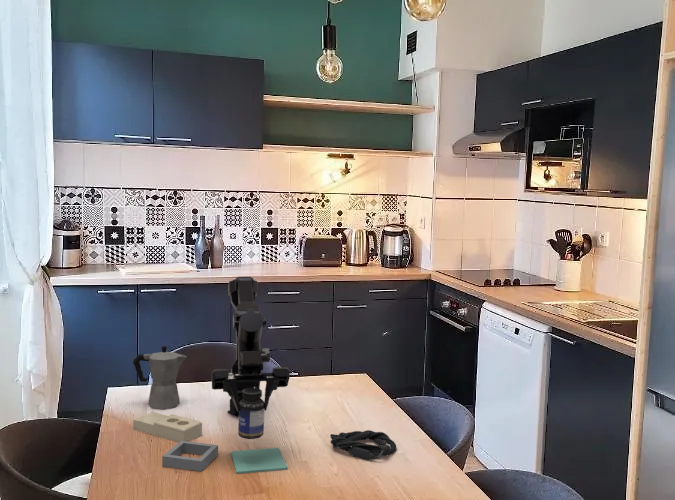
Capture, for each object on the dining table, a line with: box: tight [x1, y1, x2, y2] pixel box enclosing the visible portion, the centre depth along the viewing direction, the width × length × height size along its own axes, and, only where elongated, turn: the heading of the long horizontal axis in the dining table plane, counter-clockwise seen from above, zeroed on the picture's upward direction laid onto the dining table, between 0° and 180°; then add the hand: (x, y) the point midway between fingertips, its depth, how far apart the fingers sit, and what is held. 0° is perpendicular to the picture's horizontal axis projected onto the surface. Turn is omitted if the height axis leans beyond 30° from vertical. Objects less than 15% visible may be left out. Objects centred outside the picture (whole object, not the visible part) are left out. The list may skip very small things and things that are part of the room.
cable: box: [329, 429, 397, 461], centre depth 170 cm, size 17×14×4 cm
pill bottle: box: [237, 387, 265, 440], centre depth 159 cm, size 6×6×11 cm
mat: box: [230, 447, 289, 475], centre depth 160 cm, size 12×12×1 cm
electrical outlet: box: [132, 411, 203, 443], centre depth 177 cm, size 7×4×18 cm
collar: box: [161, 441, 219, 472], centre depth 159 cm, size 10×10×2 cm
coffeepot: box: [132, 345, 188, 411], centre depth 197 cm, size 15×9×18 cm, turn 103°
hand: (252, 410), depth 157 cm, fingers closed on pill bottle, 6 cm apart
